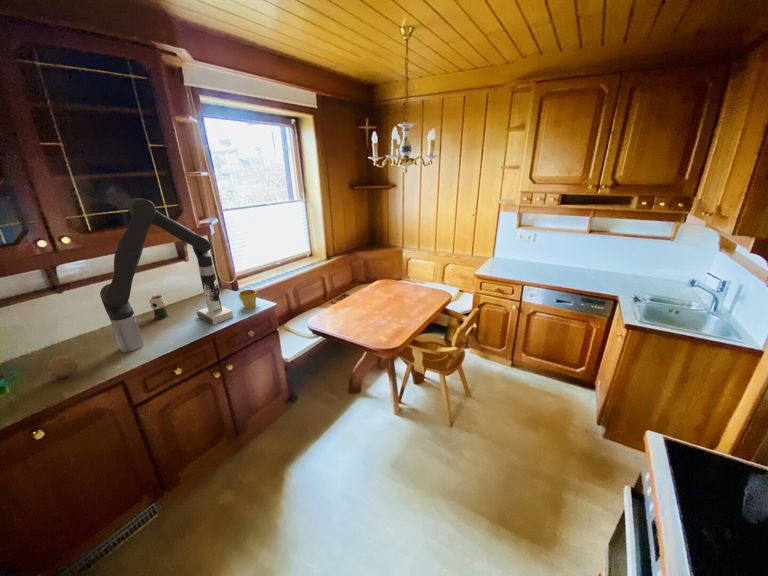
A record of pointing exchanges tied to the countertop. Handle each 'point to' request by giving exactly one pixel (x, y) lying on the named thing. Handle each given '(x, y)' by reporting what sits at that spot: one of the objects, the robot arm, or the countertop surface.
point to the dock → (215, 315)
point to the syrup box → (212, 301)
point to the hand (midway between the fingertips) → (212, 299)
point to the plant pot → (248, 298)
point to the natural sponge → (61, 367)
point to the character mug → (158, 306)
